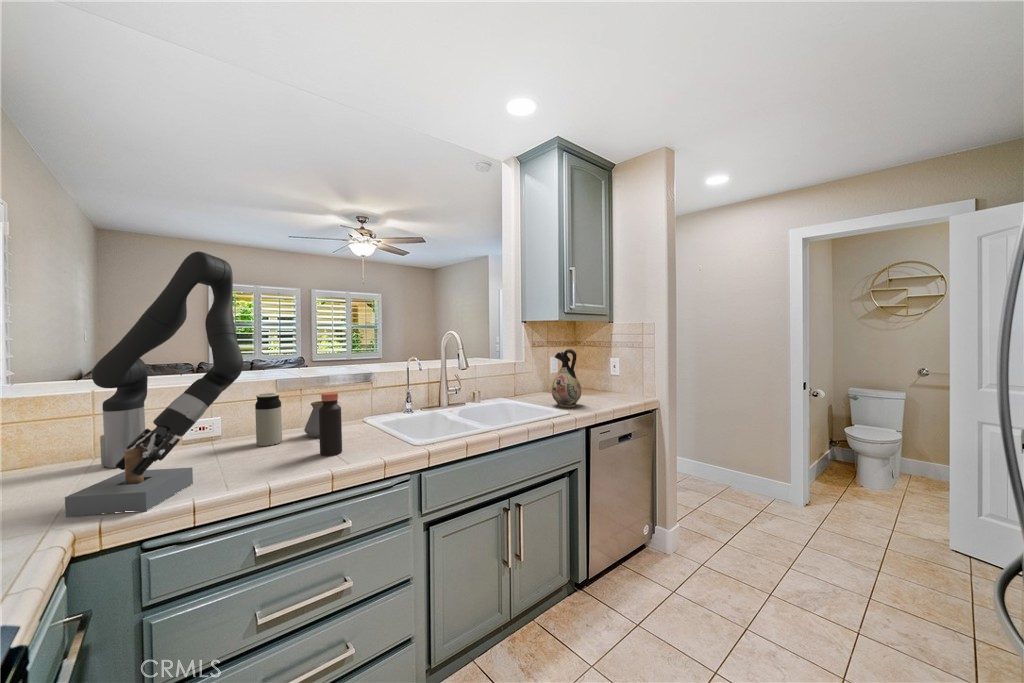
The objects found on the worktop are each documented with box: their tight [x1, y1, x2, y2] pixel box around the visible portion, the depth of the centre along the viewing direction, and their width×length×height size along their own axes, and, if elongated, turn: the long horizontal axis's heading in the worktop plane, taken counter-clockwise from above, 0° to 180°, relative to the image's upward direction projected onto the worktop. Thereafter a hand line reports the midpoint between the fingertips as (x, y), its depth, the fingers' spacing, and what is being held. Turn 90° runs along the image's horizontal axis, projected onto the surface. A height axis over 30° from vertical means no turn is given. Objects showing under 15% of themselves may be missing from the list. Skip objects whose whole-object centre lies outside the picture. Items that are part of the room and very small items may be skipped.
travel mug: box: [254, 392, 283, 447], centre depth 142 cm, size 8×8×18 cm
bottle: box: [318, 391, 343, 457], centre depth 130 cm, size 7×7×20 cm
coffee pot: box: [303, 400, 340, 438], centre depth 149 cm, size 21×12×15 cm, turn 48°
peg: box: [124, 449, 144, 485], centre depth 96 cm, size 3×3×12 cm
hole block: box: [64, 466, 194, 518], centre depth 96 cm, size 16×16×4 cm
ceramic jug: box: [551, 348, 582, 408], centre depth 203 cm, size 17×15×30 cm
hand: (126, 471), depth 95 cm, fingers open, 8 cm apart
